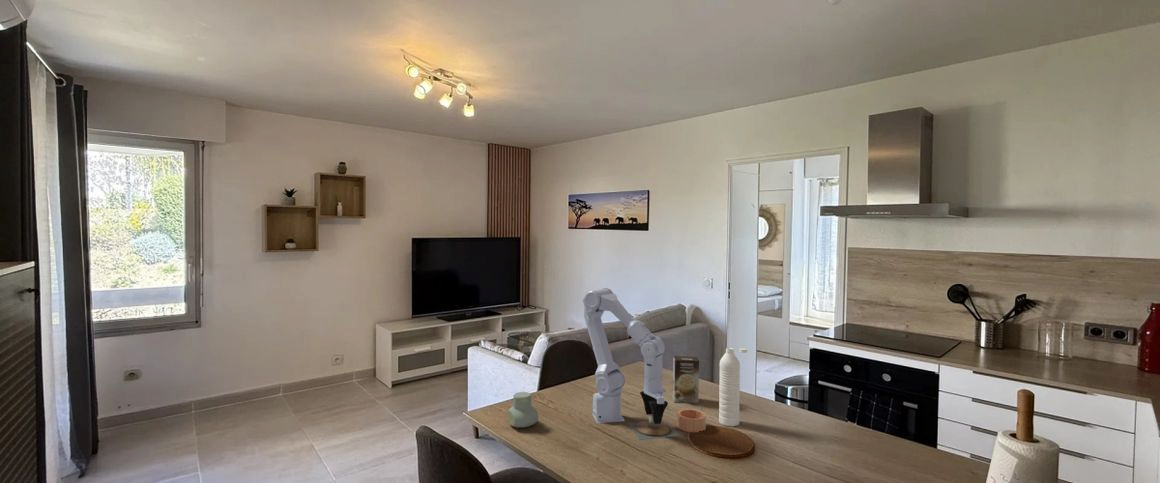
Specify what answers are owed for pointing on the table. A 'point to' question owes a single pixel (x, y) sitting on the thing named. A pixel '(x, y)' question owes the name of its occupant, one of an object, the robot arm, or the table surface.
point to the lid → (652, 428)
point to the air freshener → (522, 411)
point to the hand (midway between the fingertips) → (653, 418)
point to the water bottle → (729, 388)
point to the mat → (641, 436)
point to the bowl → (691, 420)
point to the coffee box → (685, 379)
